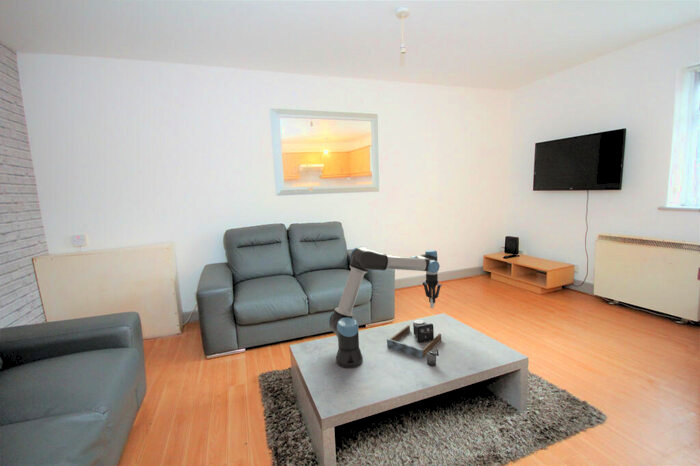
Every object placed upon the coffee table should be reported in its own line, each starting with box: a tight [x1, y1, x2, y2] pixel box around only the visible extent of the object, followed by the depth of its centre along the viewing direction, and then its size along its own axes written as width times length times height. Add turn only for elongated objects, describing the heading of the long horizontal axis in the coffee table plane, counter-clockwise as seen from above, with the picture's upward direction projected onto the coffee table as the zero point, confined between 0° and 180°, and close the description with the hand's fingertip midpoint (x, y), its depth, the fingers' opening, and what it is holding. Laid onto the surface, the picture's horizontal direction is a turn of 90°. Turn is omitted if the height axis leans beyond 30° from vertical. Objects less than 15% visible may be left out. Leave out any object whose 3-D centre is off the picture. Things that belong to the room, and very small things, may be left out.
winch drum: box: [426, 349, 440, 367], centre depth 170 cm, size 6×5×9 cm
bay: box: [386, 324, 442, 359], centre depth 194 cm, size 23×26×5 cm
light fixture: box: [412, 319, 435, 344], centre depth 200 cm, size 11×13×11 cm
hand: (432, 307), depth 211 cm, fingers closed
